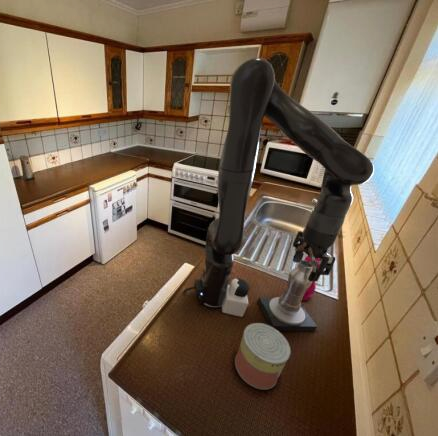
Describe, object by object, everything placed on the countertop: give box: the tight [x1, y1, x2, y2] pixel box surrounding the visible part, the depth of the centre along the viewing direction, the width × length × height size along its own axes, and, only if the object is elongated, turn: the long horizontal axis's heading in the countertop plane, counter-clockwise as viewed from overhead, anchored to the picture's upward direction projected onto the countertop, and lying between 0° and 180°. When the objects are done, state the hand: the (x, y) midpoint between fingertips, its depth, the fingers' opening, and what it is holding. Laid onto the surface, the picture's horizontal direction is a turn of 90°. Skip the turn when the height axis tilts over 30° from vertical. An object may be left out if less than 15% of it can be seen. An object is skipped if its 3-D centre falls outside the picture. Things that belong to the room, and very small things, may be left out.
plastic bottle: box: [278, 259, 312, 315], centre depth 77 cm, size 6×7×20 cm
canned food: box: [234, 322, 292, 391], centre depth 65 cm, size 11×11×12 cm
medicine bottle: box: [221, 277, 251, 318], centre depth 83 cm, size 7×7×12 cm
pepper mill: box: [302, 255, 320, 301], centre depth 87 cm, size 7×7×20 cm
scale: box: [257, 296, 318, 332], centre depth 83 cm, size 14×12×3 cm
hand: (303, 270), depth 73 cm, fingers open, 8 cm apart
